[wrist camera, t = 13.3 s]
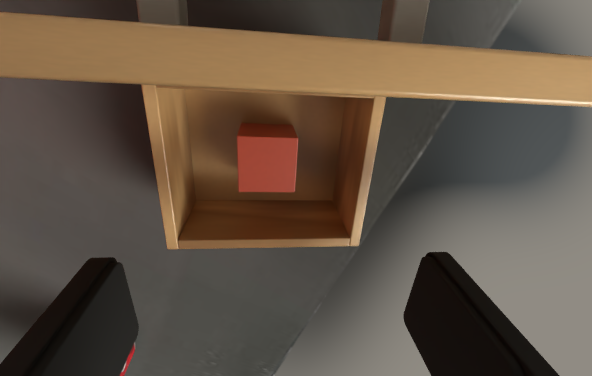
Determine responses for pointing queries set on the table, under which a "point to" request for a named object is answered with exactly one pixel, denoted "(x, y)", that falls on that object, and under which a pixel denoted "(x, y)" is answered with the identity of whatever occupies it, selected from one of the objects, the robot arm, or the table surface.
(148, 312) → the table surface
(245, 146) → the block
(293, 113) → the bin
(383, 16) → the lid
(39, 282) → the table surface
